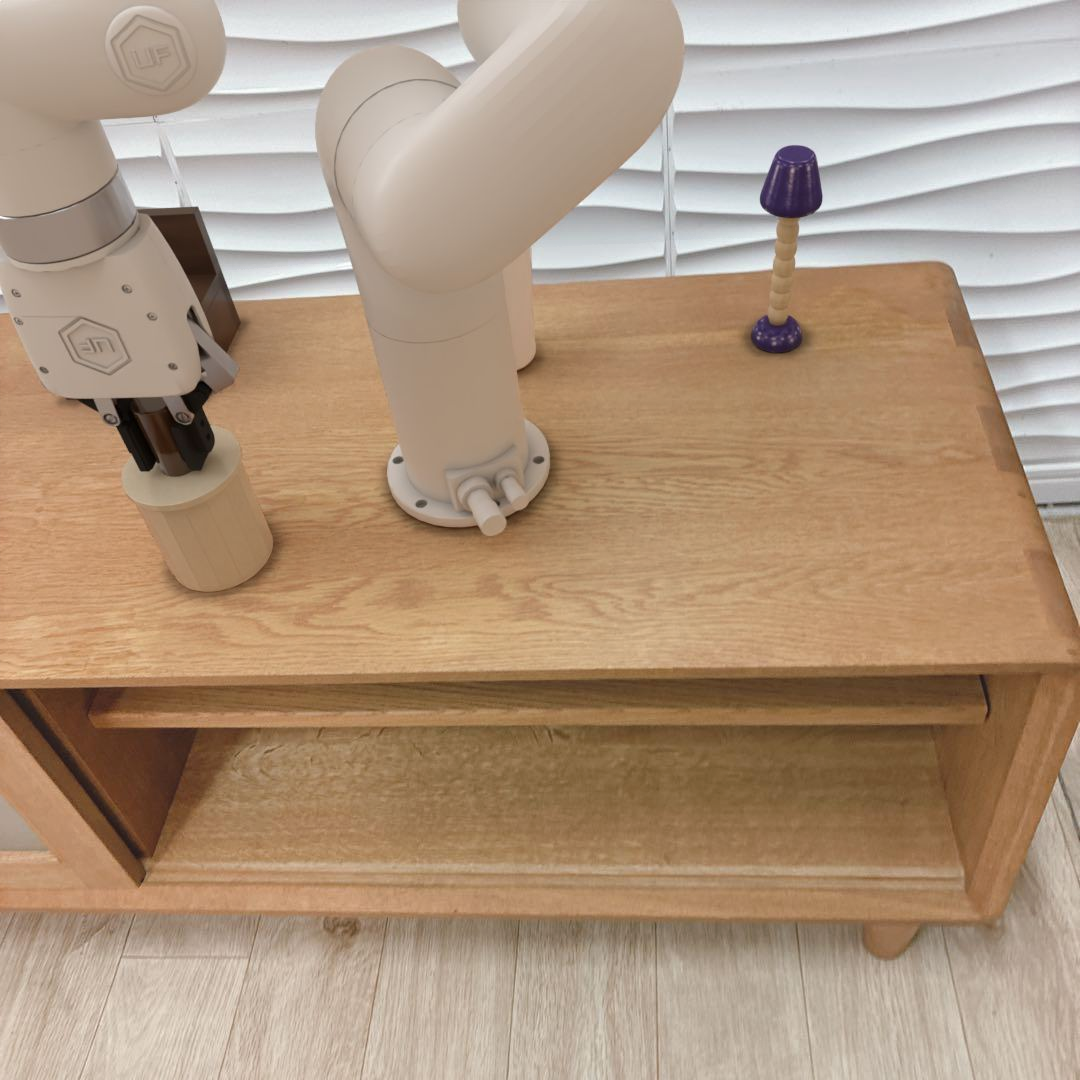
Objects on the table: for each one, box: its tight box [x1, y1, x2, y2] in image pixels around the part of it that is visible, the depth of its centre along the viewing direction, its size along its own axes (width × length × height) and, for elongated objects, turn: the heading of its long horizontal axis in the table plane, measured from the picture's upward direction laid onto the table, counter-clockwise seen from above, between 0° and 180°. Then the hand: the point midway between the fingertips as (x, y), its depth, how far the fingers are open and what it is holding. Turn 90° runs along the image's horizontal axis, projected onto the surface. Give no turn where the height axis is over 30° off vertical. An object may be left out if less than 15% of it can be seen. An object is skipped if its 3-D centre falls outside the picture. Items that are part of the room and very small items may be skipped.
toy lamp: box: [750, 144, 823, 353], centre depth 85 cm, size 5×5×17 cm
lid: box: [120, 397, 244, 512], centre depth 72 cm, size 8×8×7 cm
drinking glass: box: [502, 246, 537, 371], centre depth 88 cm, size 7×7×15 cm
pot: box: [134, 462, 274, 593], centre depth 77 cm, size 8×8×8 cm
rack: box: [65, 206, 241, 401], centre depth 94 cm, size 11×13×12 cm
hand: (177, 455), depth 73 cm, fingers closed on lid, 2 cm apart
